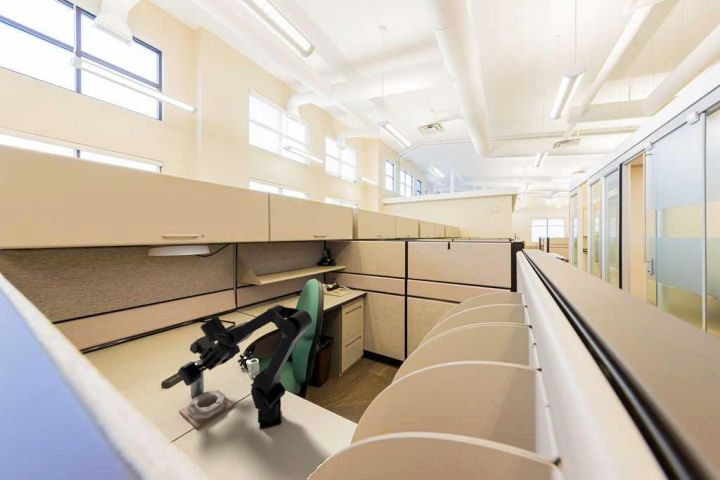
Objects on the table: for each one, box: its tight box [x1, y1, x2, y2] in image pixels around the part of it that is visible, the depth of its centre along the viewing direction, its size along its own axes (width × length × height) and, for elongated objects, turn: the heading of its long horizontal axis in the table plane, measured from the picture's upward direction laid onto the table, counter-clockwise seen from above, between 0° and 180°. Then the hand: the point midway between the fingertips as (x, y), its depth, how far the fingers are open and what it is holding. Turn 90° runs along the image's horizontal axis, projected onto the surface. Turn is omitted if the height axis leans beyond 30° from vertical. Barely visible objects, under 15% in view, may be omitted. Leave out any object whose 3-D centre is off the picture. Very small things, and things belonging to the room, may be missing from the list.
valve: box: [237, 351, 260, 379], centre depth 107 cm, size 7×7×12 cm
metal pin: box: [190, 359, 205, 399], centre depth 92 cm, size 4×4×12 cm
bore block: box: [178, 390, 236, 430], centre depth 86 cm, size 12×12×3 cm
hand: (197, 373), depth 92 cm, fingers open, 9 cm apart
